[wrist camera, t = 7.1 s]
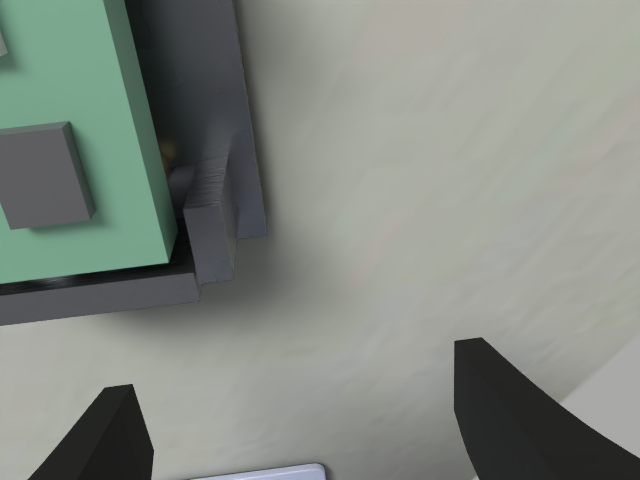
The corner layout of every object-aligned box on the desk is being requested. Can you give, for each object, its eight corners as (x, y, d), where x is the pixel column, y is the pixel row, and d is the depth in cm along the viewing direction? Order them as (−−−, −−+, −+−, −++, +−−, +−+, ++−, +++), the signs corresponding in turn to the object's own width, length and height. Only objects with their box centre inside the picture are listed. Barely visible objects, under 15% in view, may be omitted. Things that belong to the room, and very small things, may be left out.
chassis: (207, -178, 16) (184, -220, 12) (266, 223, 22) (267, 296, 18) (-162, -142, 16) (-325, -171, 12) (-3, 255, 22) (-72, 337, 17)
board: (98, -110, 14) (64, -119, 12) (178, 230, 18) (165, 273, 16) (-117, -87, 14) (-195, -91, 11) (13, 250, 18) (-24, 297, 16)
